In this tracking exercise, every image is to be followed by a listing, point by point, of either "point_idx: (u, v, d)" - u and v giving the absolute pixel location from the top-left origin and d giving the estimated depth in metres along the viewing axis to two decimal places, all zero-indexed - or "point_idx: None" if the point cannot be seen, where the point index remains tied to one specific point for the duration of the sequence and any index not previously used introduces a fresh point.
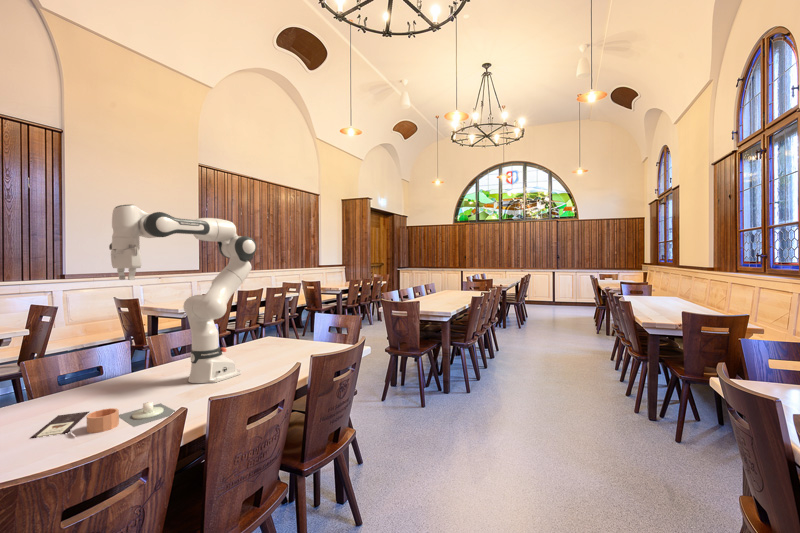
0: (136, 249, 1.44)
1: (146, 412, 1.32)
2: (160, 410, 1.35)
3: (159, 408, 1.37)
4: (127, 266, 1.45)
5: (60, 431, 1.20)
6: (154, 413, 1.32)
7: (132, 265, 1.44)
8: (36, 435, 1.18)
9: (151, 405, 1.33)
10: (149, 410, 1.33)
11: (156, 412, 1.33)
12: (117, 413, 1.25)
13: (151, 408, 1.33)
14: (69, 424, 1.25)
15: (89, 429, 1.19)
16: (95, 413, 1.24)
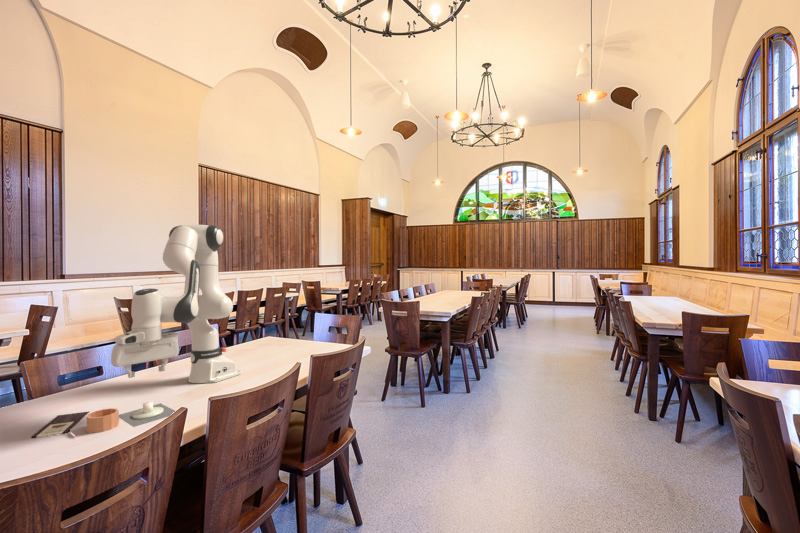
0: None
1: (146, 412, 1.32)
2: (160, 410, 1.35)
3: (159, 408, 1.37)
4: (168, 356, 1.37)
5: (60, 431, 1.20)
6: (154, 413, 1.32)
7: (178, 353, 1.41)
8: (36, 435, 1.18)
9: (151, 405, 1.33)
10: (149, 410, 1.33)
11: (156, 412, 1.33)
12: (117, 413, 1.25)
13: (151, 408, 1.33)
14: (69, 424, 1.25)
15: (89, 429, 1.19)
16: (95, 413, 1.24)
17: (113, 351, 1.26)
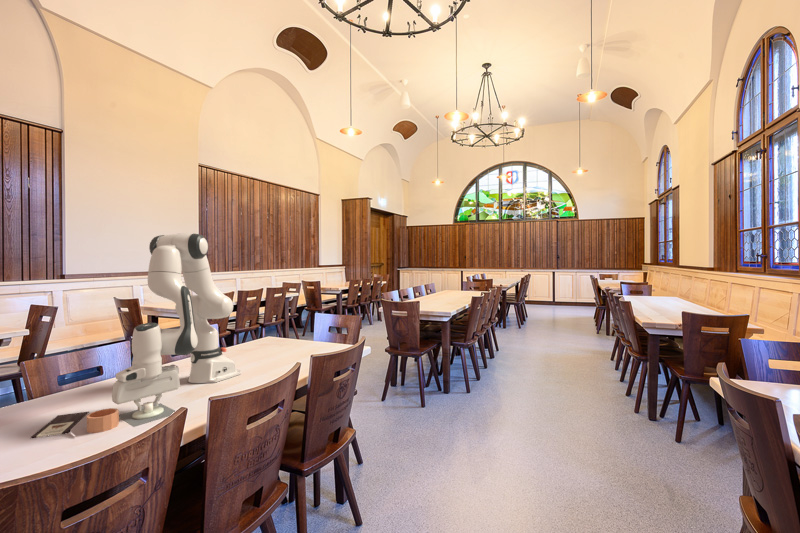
0: None
1: (146, 412, 1.32)
2: (160, 410, 1.35)
3: (159, 408, 1.37)
4: (169, 389, 1.38)
5: (60, 431, 1.20)
6: (154, 413, 1.32)
7: (179, 386, 1.41)
8: (36, 435, 1.18)
9: (151, 405, 1.33)
10: (149, 410, 1.33)
11: (156, 412, 1.33)
12: (117, 413, 1.25)
13: (151, 408, 1.33)
14: (69, 424, 1.25)
15: (89, 429, 1.19)
16: (95, 413, 1.24)
17: (114, 388, 1.26)
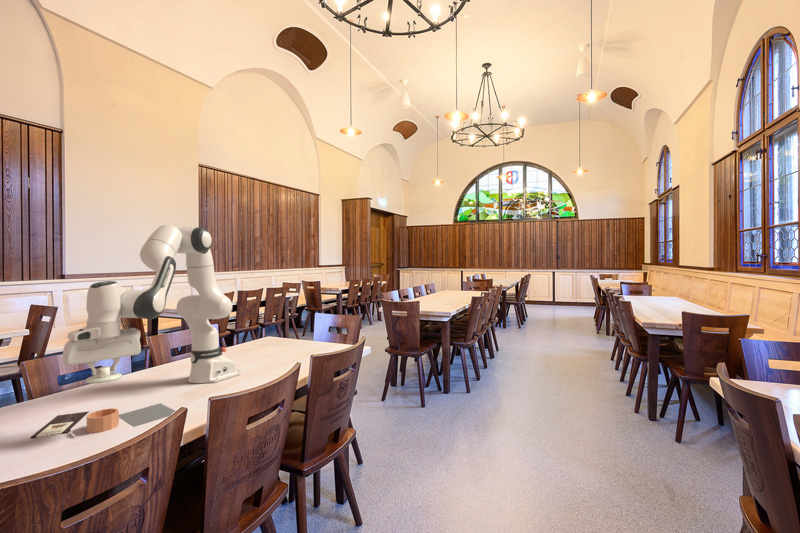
0: None
1: (102, 376, 1.22)
2: (118, 375, 1.25)
3: (117, 374, 1.26)
4: (129, 354, 1.27)
5: (60, 431, 1.20)
6: (110, 377, 1.22)
7: (140, 351, 1.31)
8: (36, 435, 1.18)
9: (108, 369, 1.23)
10: (105, 374, 1.22)
11: (113, 377, 1.23)
12: (117, 413, 1.25)
13: (107, 372, 1.23)
14: (69, 424, 1.25)
15: (89, 429, 1.19)
16: (95, 413, 1.24)
17: (64, 349, 1.16)
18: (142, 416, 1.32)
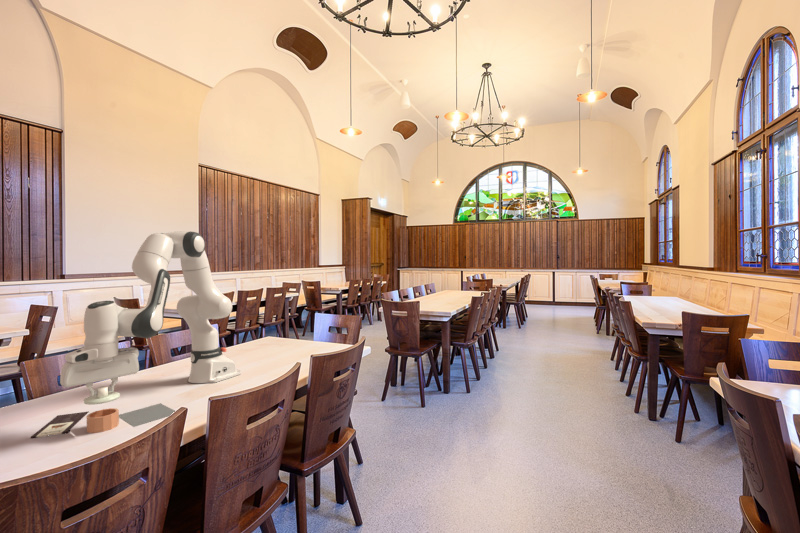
0: None
1: (100, 397, 1.22)
2: (116, 395, 1.24)
3: (115, 393, 1.26)
4: (127, 373, 1.27)
5: (60, 431, 1.20)
6: (109, 398, 1.22)
7: (138, 370, 1.30)
8: (36, 435, 1.18)
9: (105, 389, 1.23)
10: (103, 395, 1.22)
11: (111, 397, 1.23)
12: (117, 413, 1.25)
13: (105, 393, 1.23)
14: (69, 424, 1.25)
15: (89, 429, 1.19)
16: (95, 413, 1.24)
17: (62, 370, 1.16)
18: (142, 416, 1.32)
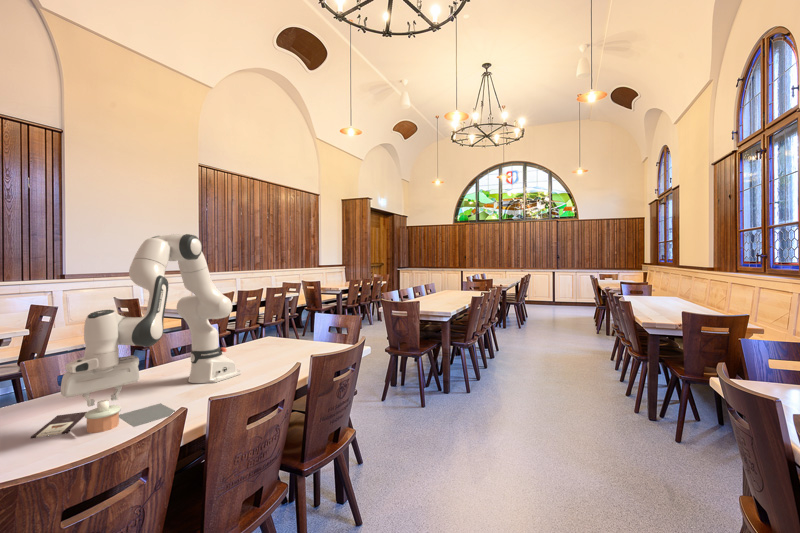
0: None
1: (101, 411, 1.22)
2: (117, 408, 1.25)
3: (116, 407, 1.26)
4: (127, 382, 1.27)
5: (59, 431, 1.20)
6: (109, 412, 1.22)
7: None
8: (35, 435, 1.18)
9: (106, 403, 1.23)
10: (104, 409, 1.22)
11: (112, 411, 1.23)
12: (117, 413, 1.25)
13: (106, 406, 1.23)
14: (68, 424, 1.25)
15: (89, 429, 1.19)
16: None
17: (62, 380, 1.16)
18: (142, 416, 1.32)
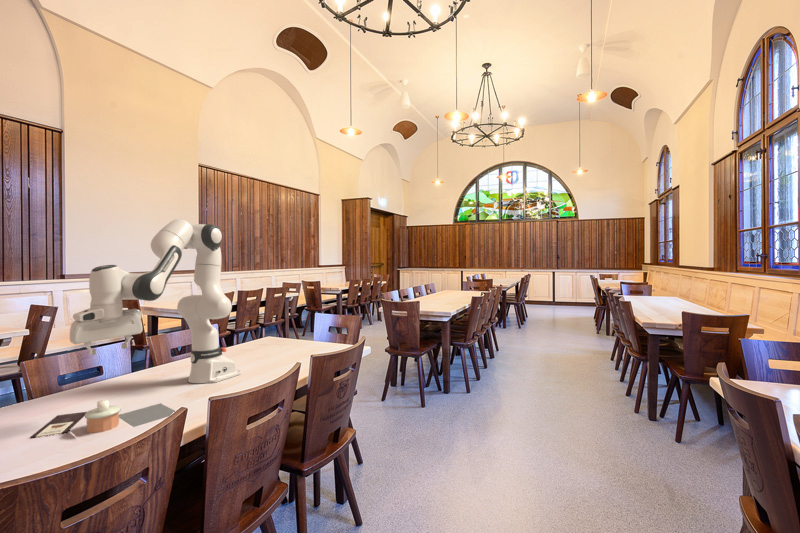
0: None
1: (101, 411, 1.22)
2: (117, 408, 1.25)
3: (116, 407, 1.26)
4: (131, 333, 1.36)
5: (59, 431, 1.20)
6: (109, 412, 1.22)
7: (142, 330, 1.39)
8: (35, 435, 1.18)
9: (106, 403, 1.23)
10: (104, 409, 1.22)
11: (112, 411, 1.23)
12: (117, 413, 1.25)
13: (106, 406, 1.23)
14: (68, 424, 1.26)
15: (89, 429, 1.19)
16: None
17: (71, 328, 1.24)
18: (142, 416, 1.32)
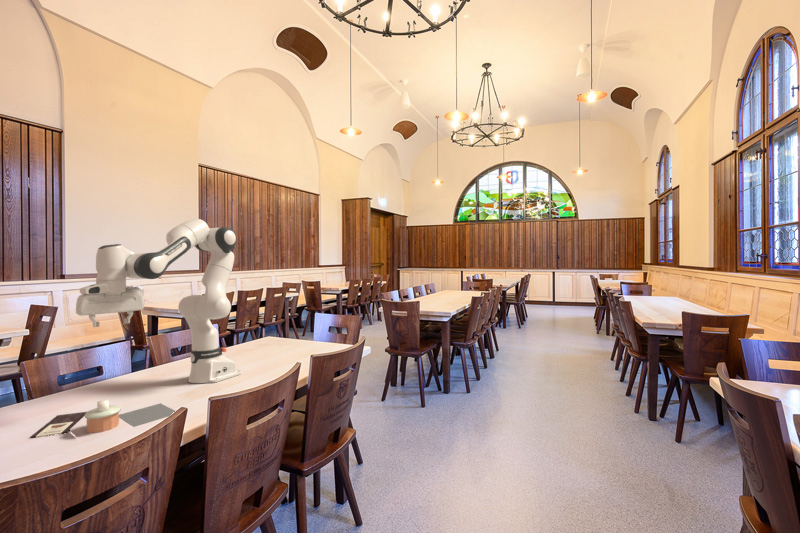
0: None
1: (101, 411, 1.22)
2: (117, 408, 1.25)
3: (116, 407, 1.26)
4: (133, 309, 1.44)
5: (59, 431, 1.20)
6: (109, 412, 1.22)
7: (143, 307, 1.47)
8: (35, 435, 1.18)
9: (106, 403, 1.23)
10: (104, 409, 1.22)
11: (112, 411, 1.23)
12: (117, 413, 1.25)
13: (106, 406, 1.23)
14: (68, 424, 1.26)
15: (89, 429, 1.19)
16: None
17: (77, 301, 1.33)
18: (142, 416, 1.32)
